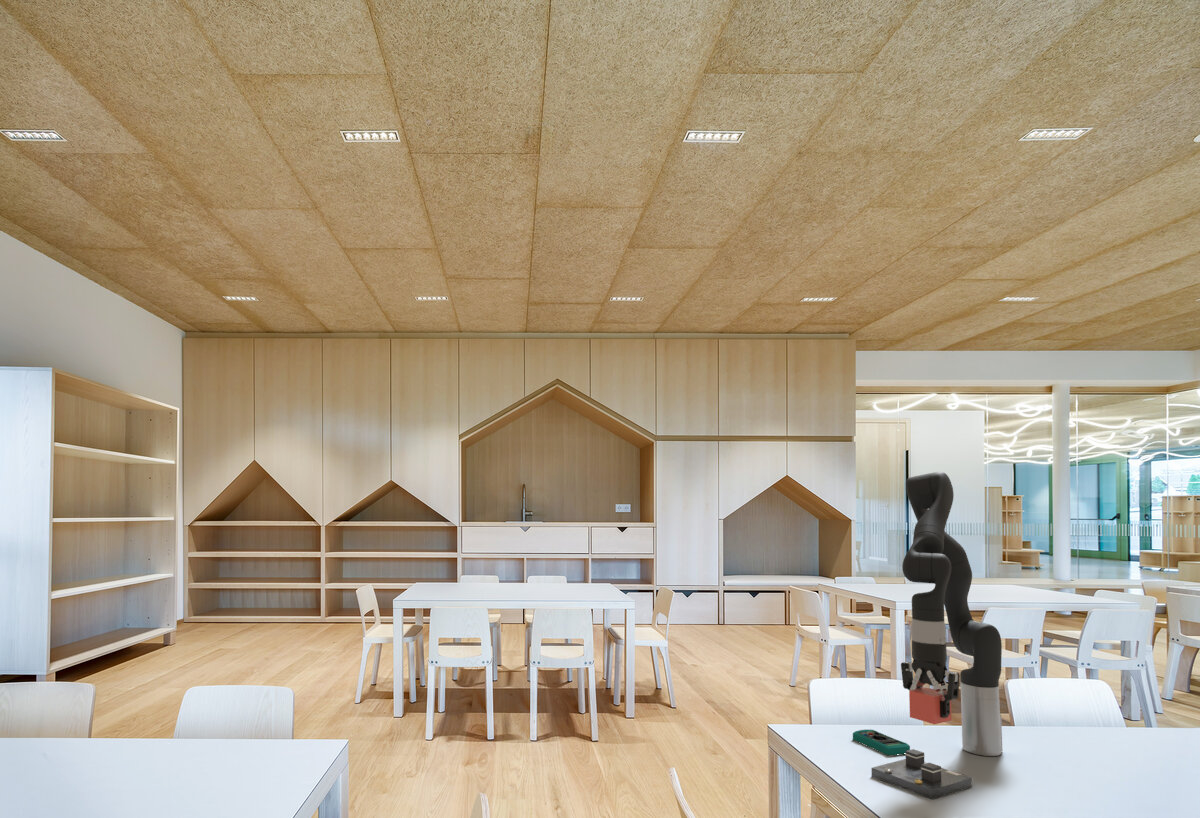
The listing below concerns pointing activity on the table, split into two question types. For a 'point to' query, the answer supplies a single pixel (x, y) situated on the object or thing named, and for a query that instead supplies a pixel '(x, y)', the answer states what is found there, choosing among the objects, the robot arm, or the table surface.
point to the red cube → (926, 706)
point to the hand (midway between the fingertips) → (930, 713)
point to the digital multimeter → (881, 742)
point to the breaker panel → (913, 781)
